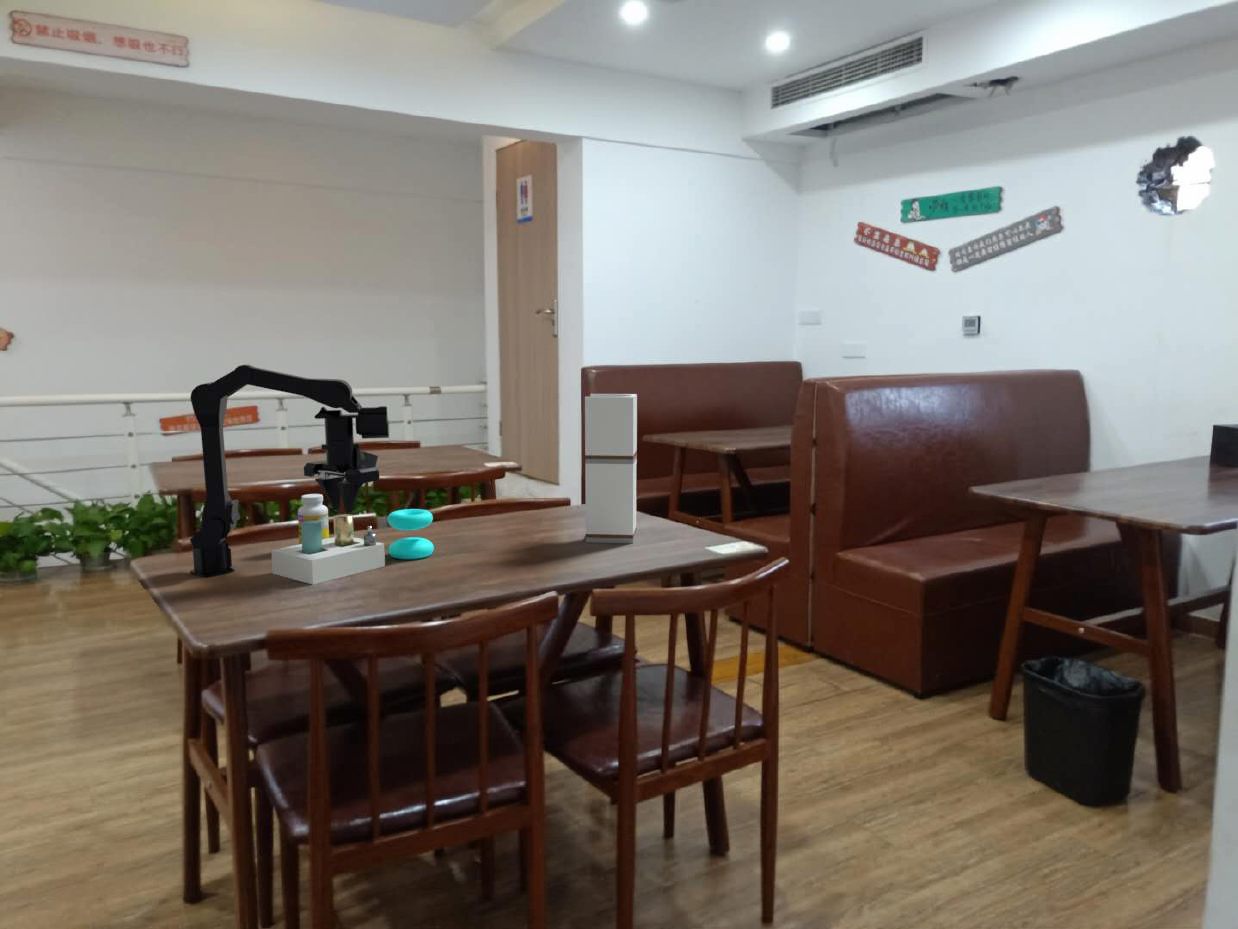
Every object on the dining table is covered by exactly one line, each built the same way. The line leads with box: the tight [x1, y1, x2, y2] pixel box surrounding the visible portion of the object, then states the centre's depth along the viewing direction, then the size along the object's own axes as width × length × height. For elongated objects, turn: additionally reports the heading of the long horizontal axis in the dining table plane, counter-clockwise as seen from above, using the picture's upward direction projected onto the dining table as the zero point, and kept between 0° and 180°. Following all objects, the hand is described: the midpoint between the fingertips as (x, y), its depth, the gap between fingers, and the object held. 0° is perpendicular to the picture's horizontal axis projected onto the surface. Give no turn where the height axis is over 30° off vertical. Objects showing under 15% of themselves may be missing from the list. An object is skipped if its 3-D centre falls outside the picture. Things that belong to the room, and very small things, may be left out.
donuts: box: [387, 508, 435, 560], centre depth 206 cm, size 10×10×10 cm
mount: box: [271, 536, 386, 586], centre depth 193 cm, size 18×14×5 cm
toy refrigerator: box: [584, 393, 638, 544], centre depth 221 cm, size 11×11×35 cm
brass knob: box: [332, 513, 355, 547], centre depth 196 cm, size 4×4×7 cm
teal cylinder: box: [301, 520, 322, 555], centre depth 189 cm, size 4×4×7 cm
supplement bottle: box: [297, 493, 330, 545], centre depth 210 cm, size 7×7×13 cm
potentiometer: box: [363, 525, 377, 546], centre depth 194 cm, size 3×3×4 cm
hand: (342, 511), depth 195 cm, fingers open, 4 cm apart
